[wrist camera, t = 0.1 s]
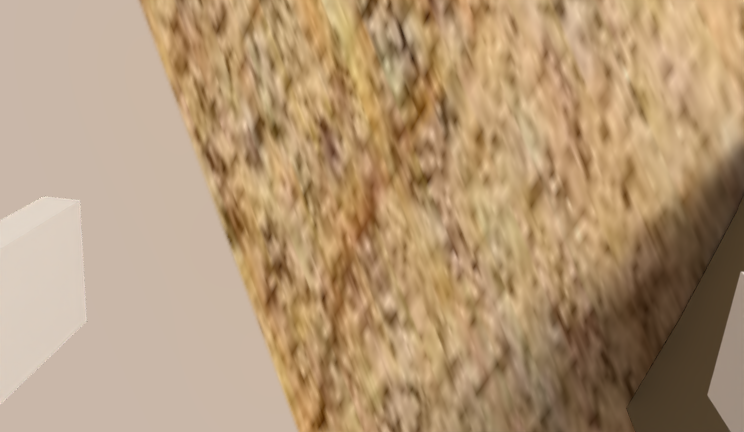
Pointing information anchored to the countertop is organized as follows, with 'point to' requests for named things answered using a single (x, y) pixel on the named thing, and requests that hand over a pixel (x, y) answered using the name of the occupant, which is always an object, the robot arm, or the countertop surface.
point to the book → (693, 349)
